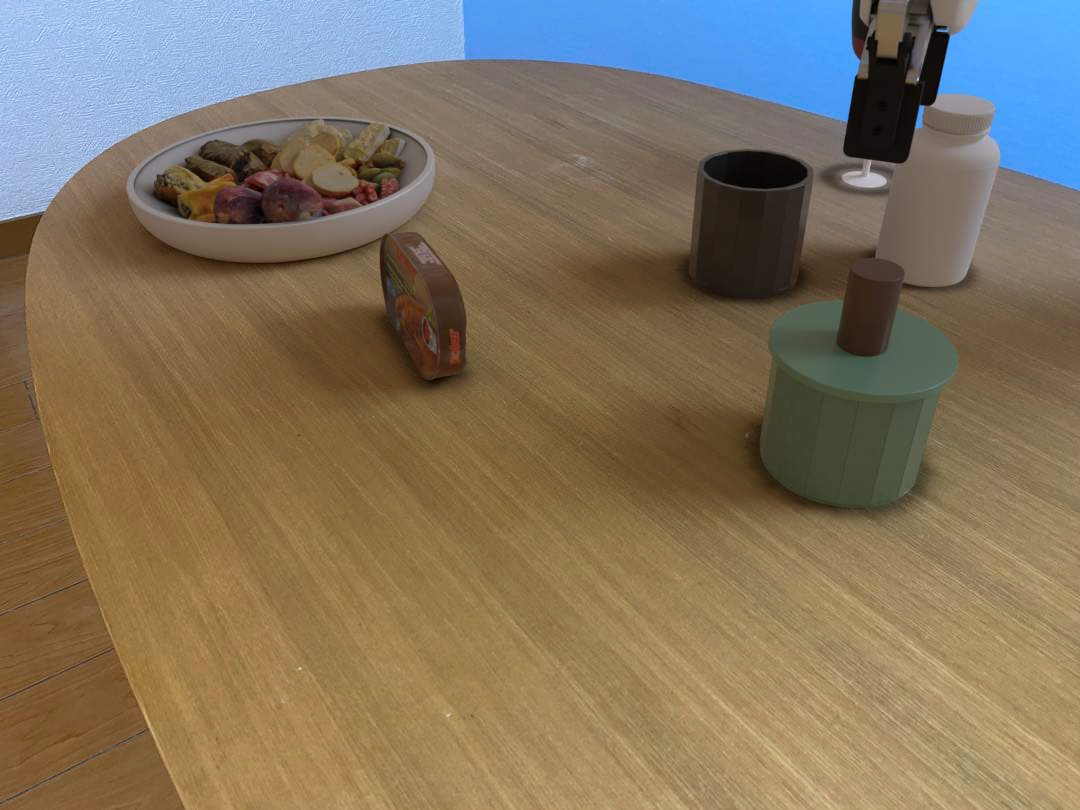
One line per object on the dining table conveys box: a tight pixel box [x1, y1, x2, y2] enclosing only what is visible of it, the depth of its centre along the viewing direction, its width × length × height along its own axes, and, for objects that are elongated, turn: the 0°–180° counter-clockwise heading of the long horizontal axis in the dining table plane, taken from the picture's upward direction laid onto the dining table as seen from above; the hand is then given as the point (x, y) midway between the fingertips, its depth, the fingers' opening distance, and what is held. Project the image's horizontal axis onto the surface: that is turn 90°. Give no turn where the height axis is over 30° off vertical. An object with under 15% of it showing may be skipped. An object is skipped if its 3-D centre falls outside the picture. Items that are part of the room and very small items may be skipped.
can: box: [759, 357, 942, 509], centre depth 60 cm, size 10×10×8 cm
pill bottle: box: [874, 93, 1001, 288], centre depth 80 cm, size 8×8×15 cm
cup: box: [688, 148, 815, 300], centre depth 81 cm, size 9×9×10 cm
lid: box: [767, 257, 959, 403], centre depth 56 cm, size 11×11×6 cm
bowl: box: [125, 116, 436, 264], centre depth 95 cm, size 30×30×8 cm
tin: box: [379, 231, 468, 381], centre depth 72 cm, size 15×3×8 cm, turn 23°
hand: (891, 128), depth 51 cm, fingers open, 9 cm apart
